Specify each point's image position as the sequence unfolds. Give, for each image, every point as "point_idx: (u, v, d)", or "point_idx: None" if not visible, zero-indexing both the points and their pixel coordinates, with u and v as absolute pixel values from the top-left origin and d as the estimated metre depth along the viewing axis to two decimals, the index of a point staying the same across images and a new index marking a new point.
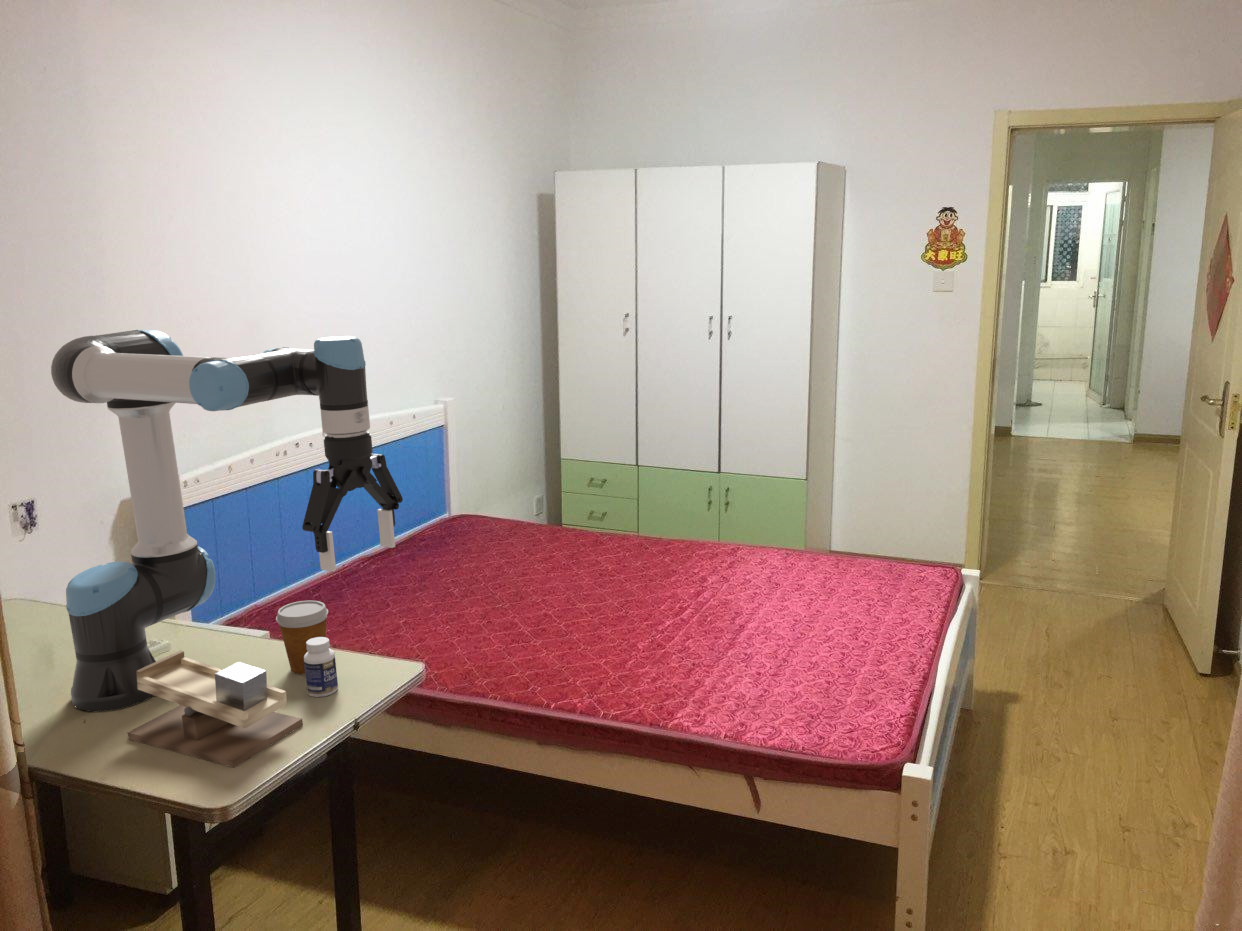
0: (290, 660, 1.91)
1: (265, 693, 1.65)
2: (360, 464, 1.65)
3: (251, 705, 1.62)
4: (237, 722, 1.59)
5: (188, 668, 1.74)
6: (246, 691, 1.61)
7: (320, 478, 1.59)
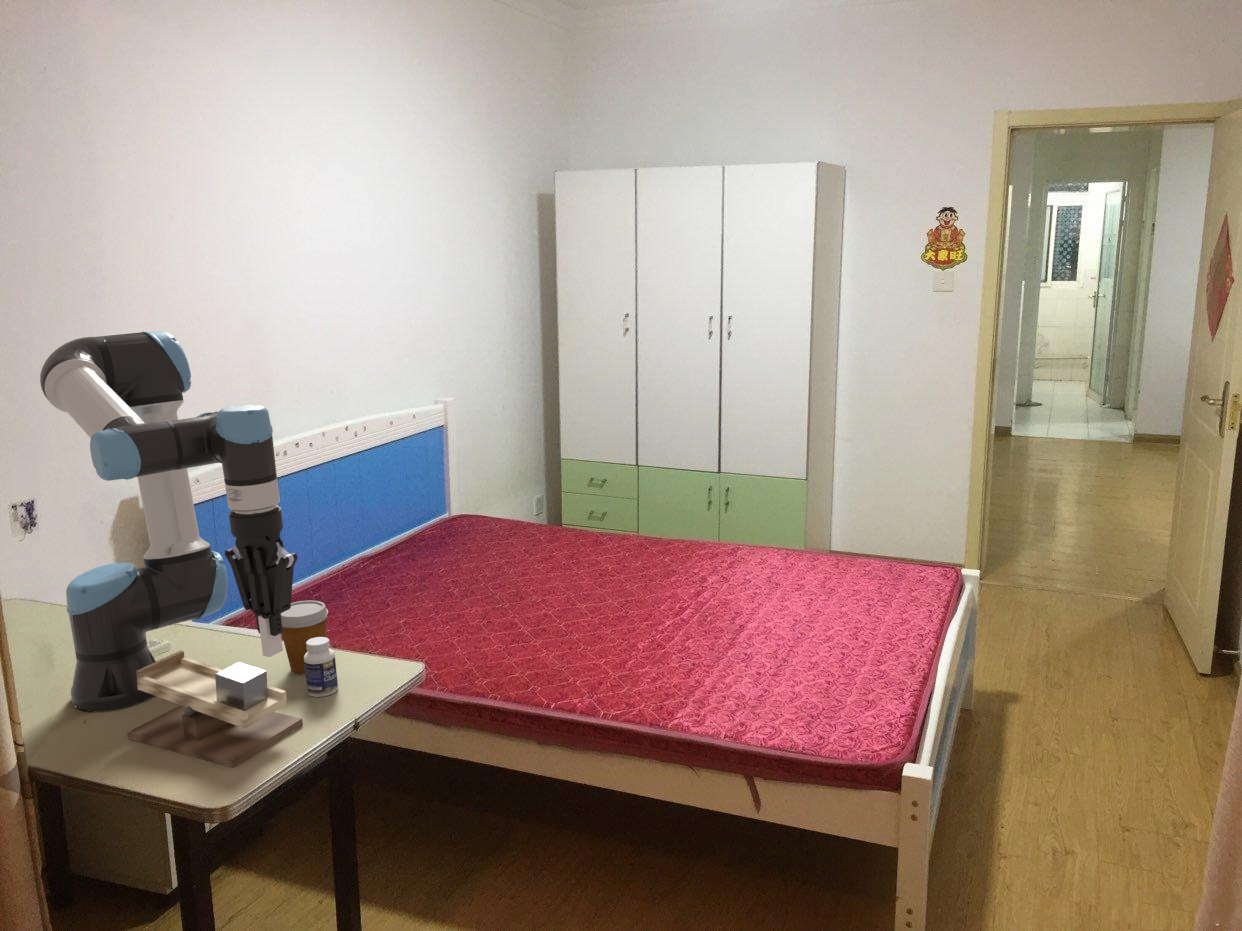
0: (290, 660, 1.91)
1: (265, 693, 1.65)
2: (261, 538, 1.53)
3: (251, 705, 1.62)
4: (237, 722, 1.59)
5: (188, 668, 1.74)
6: (246, 691, 1.61)
7: None
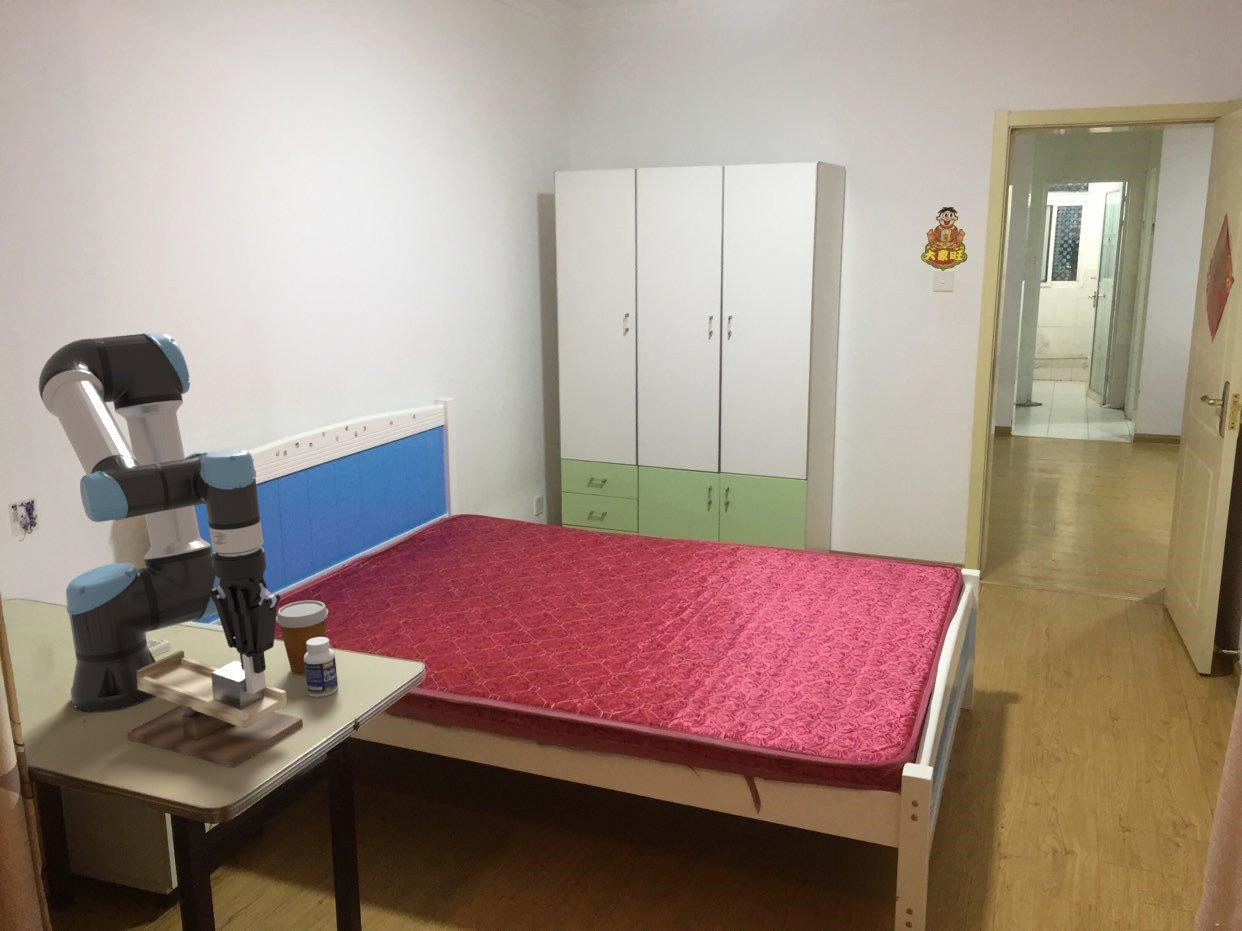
0: (290, 660, 1.91)
1: (262, 692, 1.65)
2: (245, 579, 1.56)
3: (247, 703, 1.63)
4: (237, 722, 1.59)
5: (189, 668, 1.74)
6: (242, 690, 1.61)
7: None
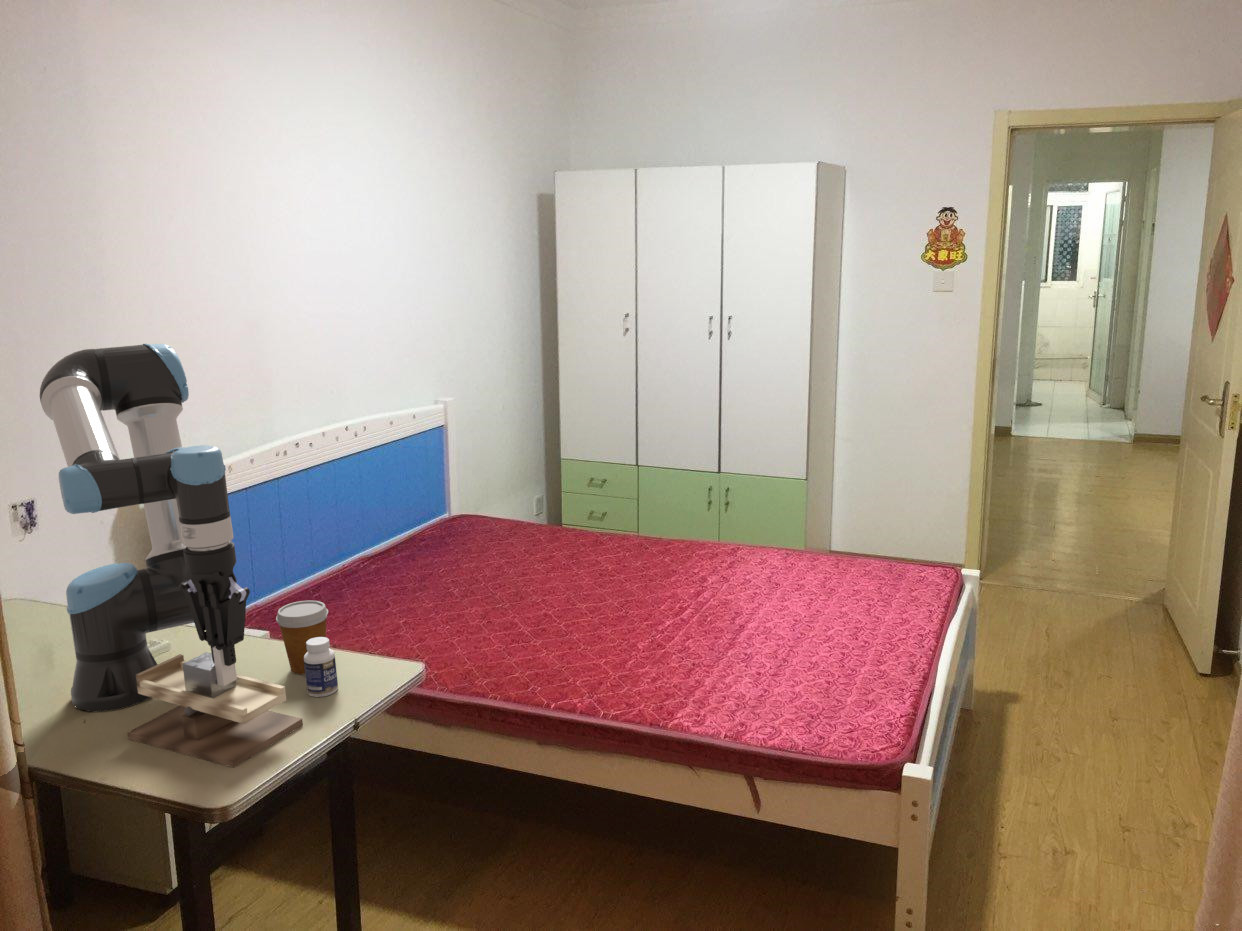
0: (290, 660, 1.91)
1: (233, 681, 1.68)
2: (215, 573, 1.59)
3: (219, 692, 1.65)
4: (236, 718, 1.59)
5: None
6: (213, 678, 1.64)
7: None
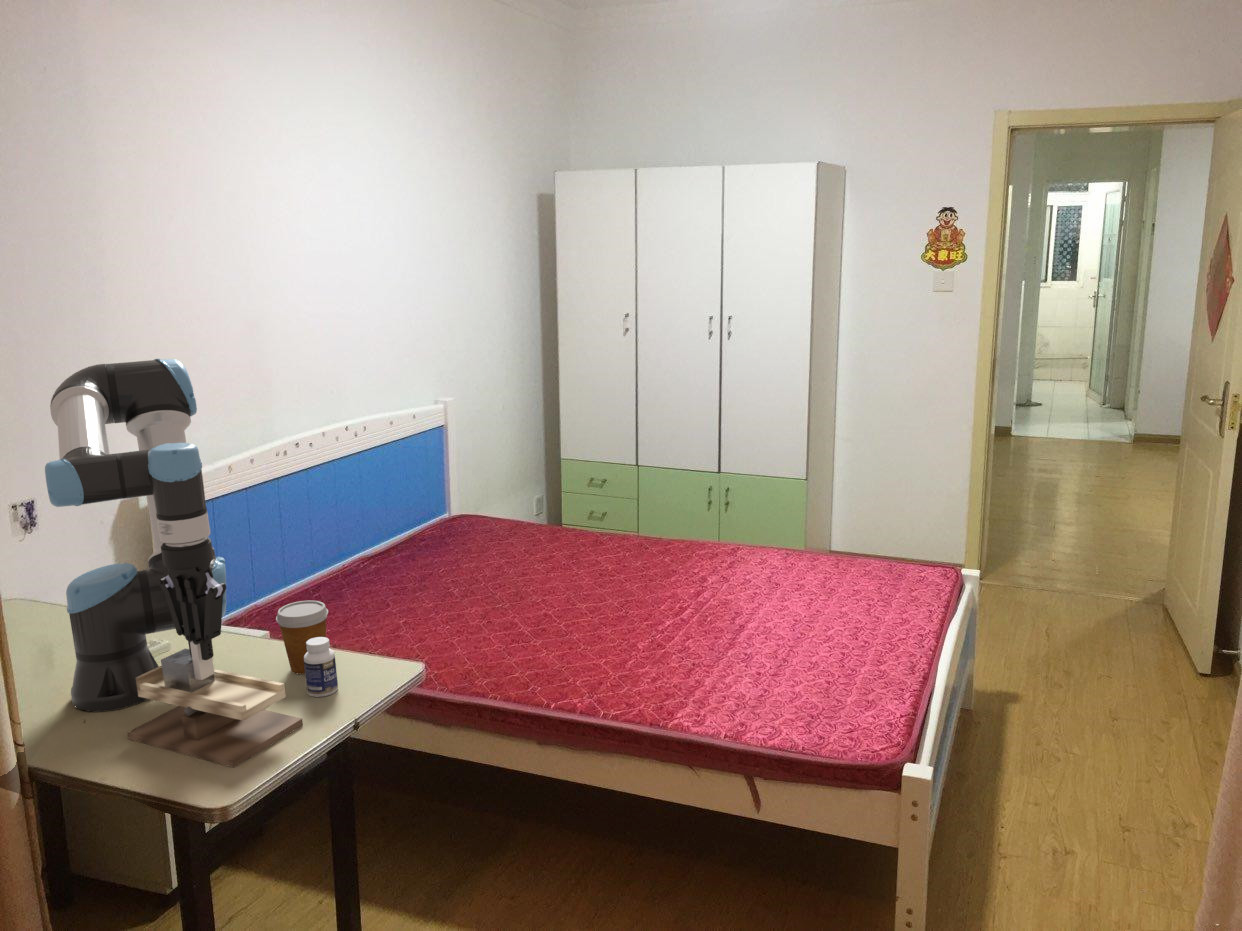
0: (290, 660, 1.91)
1: (212, 676, 1.70)
2: (192, 569, 1.61)
3: (198, 687, 1.67)
4: (236, 715, 1.59)
5: None
6: (191, 673, 1.66)
7: None
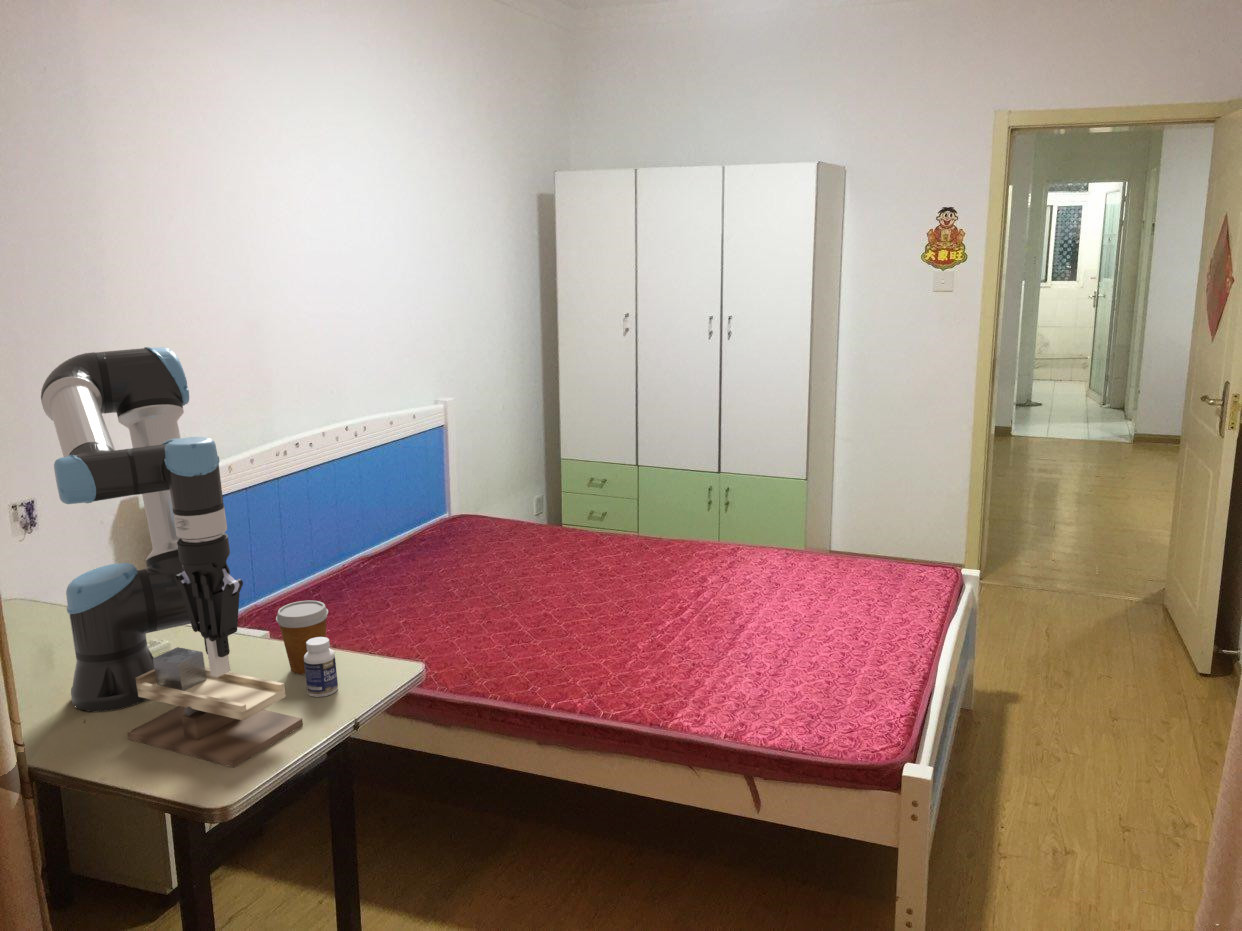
0: (290, 660, 1.91)
1: (204, 674, 1.71)
2: (208, 564, 1.59)
3: (189, 685, 1.68)
4: (236, 715, 1.59)
5: None
6: (182, 671, 1.67)
7: None
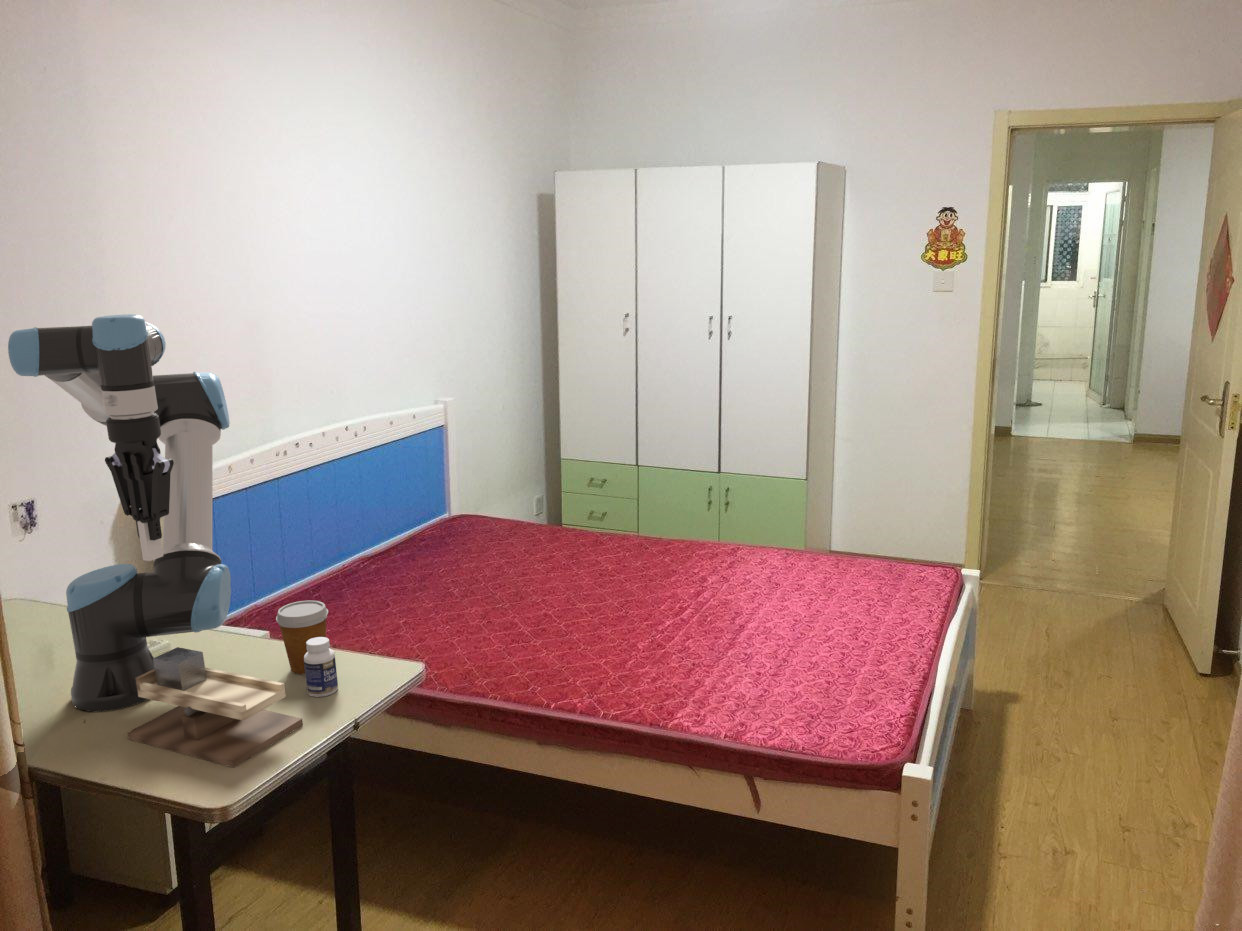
0: (290, 660, 1.91)
1: (204, 674, 1.71)
2: (138, 443, 1.58)
3: (189, 685, 1.68)
4: (236, 715, 1.59)
5: None
6: (182, 671, 1.67)
7: None
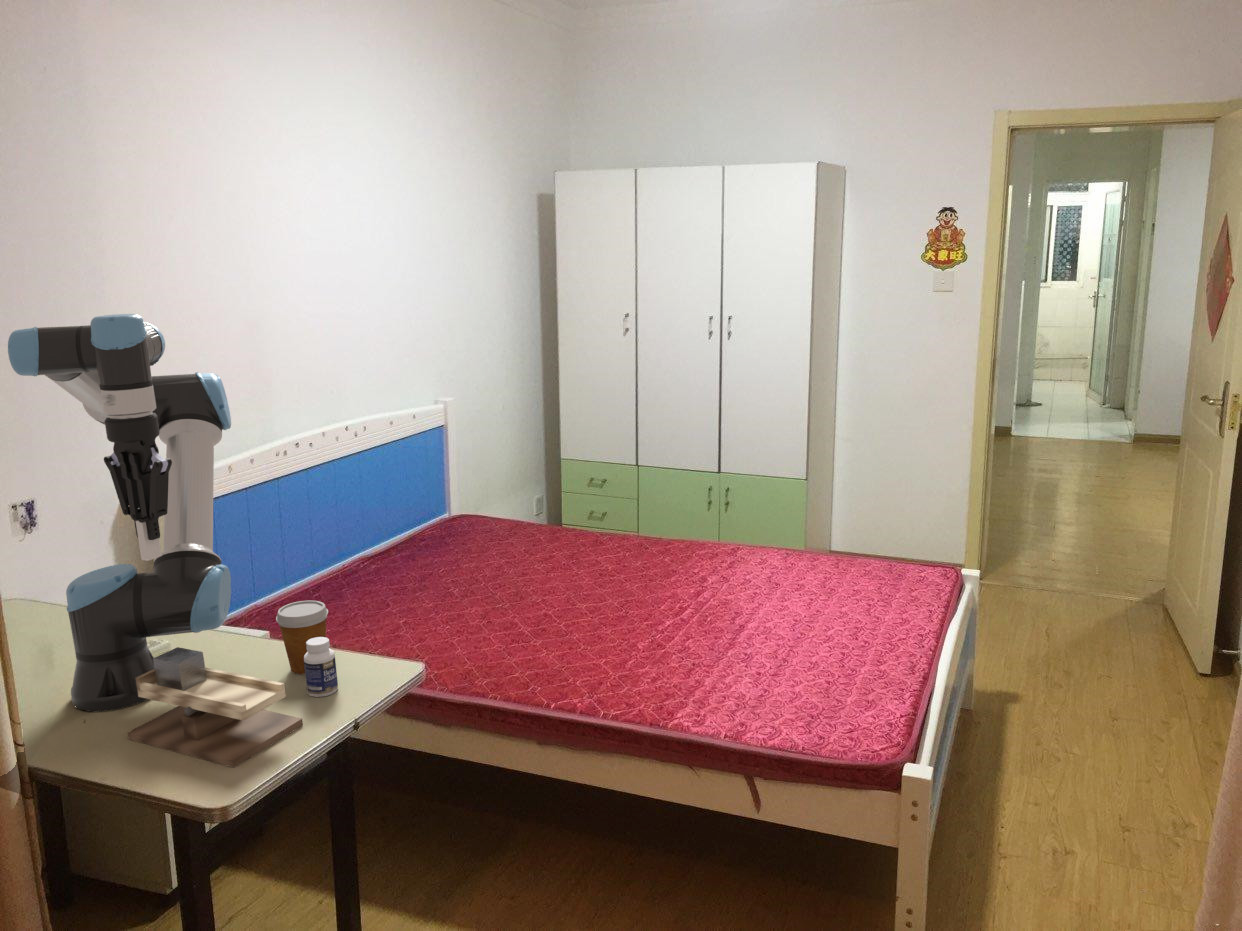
0: (290, 660, 1.91)
1: (204, 674, 1.71)
2: (136, 443, 1.58)
3: (189, 685, 1.68)
4: (236, 715, 1.59)
5: None
6: (182, 671, 1.67)
7: None
